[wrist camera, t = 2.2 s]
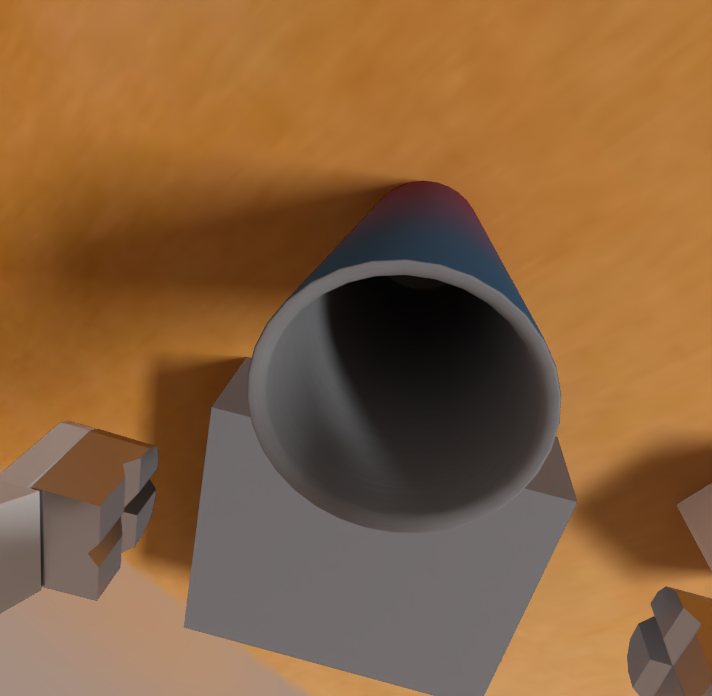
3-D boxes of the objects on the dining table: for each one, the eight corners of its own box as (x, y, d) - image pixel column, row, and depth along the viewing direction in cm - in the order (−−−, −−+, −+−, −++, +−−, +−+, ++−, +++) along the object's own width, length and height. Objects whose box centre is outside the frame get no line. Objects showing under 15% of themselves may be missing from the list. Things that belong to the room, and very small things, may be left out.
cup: (397, 335, 29) (354, 570, 15) (317, 213, 27) (185, 358, 13) (529, 264, 26) (616, 466, 13) (451, 125, 24) (459, 191, 11)
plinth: (216, 558, 36) (183, 627, 32) (246, 357, 30) (211, 407, 26) (474, 627, 36) (478, 707, 31) (557, 437, 30) (577, 502, 25)
